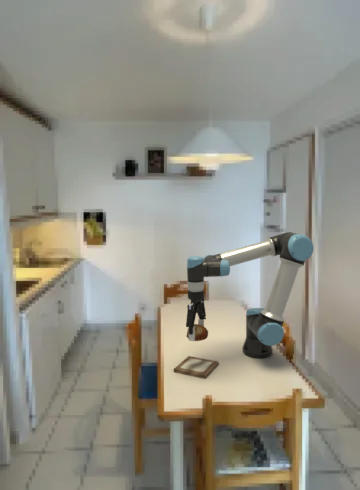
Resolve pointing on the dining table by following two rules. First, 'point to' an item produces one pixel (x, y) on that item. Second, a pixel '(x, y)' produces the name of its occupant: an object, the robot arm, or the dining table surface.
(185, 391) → the dining table surface
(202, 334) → the bread roll
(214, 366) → the walnut frame
